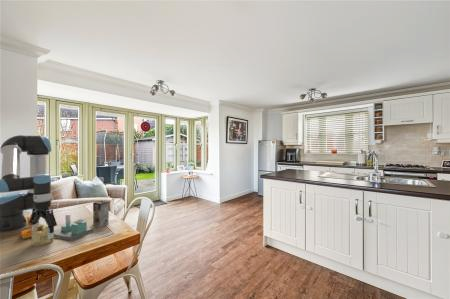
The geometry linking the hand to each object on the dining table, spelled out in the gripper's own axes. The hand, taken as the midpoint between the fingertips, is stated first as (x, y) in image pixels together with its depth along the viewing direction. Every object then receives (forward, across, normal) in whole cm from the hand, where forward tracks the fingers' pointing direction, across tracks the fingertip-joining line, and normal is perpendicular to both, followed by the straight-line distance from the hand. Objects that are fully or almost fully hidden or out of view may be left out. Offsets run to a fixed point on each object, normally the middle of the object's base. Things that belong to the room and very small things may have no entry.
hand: (42, 236), depth 116 cm
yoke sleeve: (+4, 0, 0) cm, 4 cm away
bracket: (+4, -19, +4) cm, 20 cm away
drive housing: (+4, +3, +14) cm, 15 cm away
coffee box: (+4, +7, +32) cm, 33 cm away
